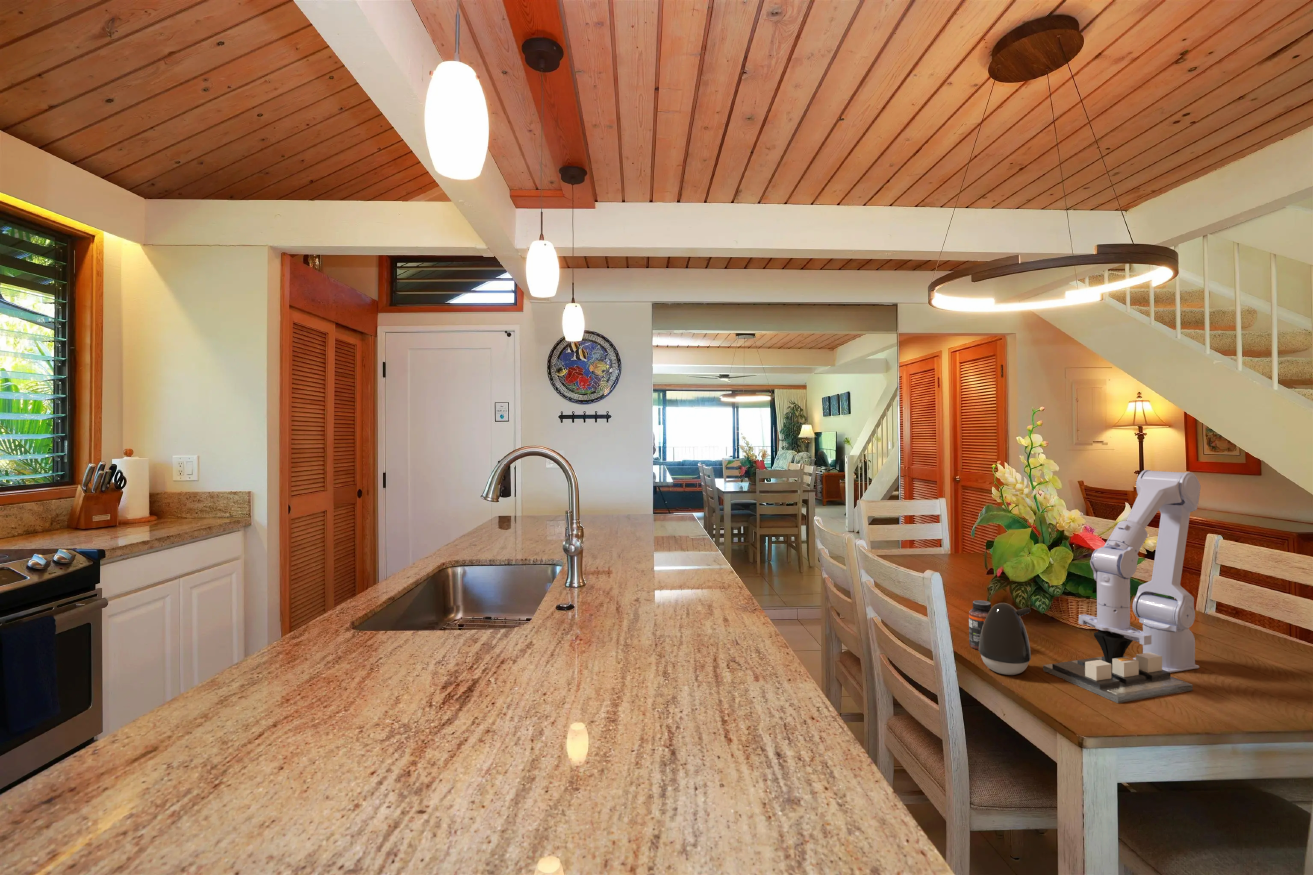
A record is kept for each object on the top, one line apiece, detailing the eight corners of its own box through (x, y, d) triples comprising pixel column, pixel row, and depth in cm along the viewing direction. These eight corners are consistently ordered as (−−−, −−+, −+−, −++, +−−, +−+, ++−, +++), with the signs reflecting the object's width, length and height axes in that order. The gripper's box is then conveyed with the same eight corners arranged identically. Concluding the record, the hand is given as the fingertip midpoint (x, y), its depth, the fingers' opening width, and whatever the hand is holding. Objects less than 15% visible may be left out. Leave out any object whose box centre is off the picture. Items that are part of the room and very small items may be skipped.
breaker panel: (1112, 660, 143) (1112, 650, 143) (1192, 690, 127) (1192, 679, 127) (1043, 670, 138) (1043, 660, 138) (1117, 703, 122) (1117, 692, 121)
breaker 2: (1150, 665, 134) (1150, 652, 134) (1162, 670, 131) (1162, 656, 131) (1136, 668, 133) (1136, 654, 133) (1147, 672, 130) (1147, 658, 130)
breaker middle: (1126, 670, 132) (1126, 655, 132) (1138, 674, 129) (1138, 659, 129) (1112, 672, 131) (1112, 657, 131) (1124, 677, 128) (1124, 661, 128)
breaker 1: (1099, 673, 130) (1099, 659, 130) (1111, 678, 128) (1111, 663, 128) (1085, 675, 129) (1085, 661, 129) (1096, 680, 127) (1096, 666, 127)
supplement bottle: (996, 645, 154) (995, 600, 153) (996, 653, 148) (996, 606, 148) (969, 641, 156) (969, 597, 156) (968, 649, 151) (968, 603, 151)
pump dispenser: (1039, 681, 132) (1039, 611, 132) (987, 678, 134) (986, 608, 134) (1021, 663, 142) (1021, 597, 142) (973, 660, 144) (972, 596, 144)
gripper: (1067, 596, 138) (1068, 656, 139) (1132, 615, 124) (1133, 682, 125) (1092, 594, 140) (1092, 653, 140) (1159, 612, 126) (1159, 678, 126)
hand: (1113, 666), depth 133 cm, fingers closed
